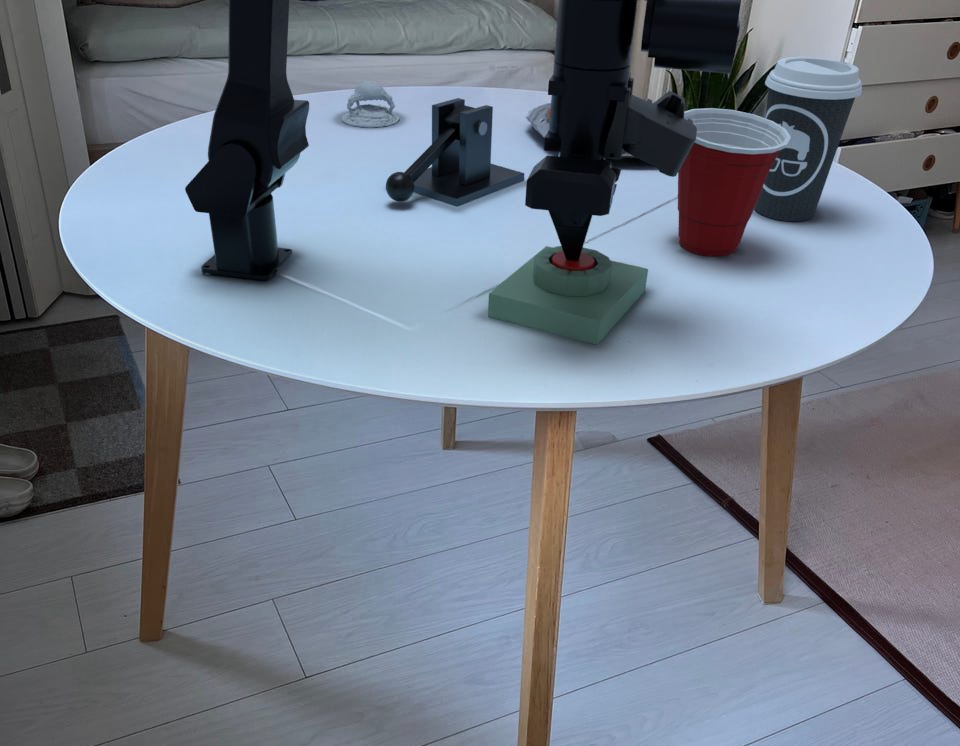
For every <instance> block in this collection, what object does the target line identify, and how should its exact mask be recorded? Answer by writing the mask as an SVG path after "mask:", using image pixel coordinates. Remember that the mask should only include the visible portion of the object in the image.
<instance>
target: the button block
mask: <svg viewBox="0 0 960 746" xmlns="http://www.w3.org/2000/svg"><path fill="white" fill-rule="evenodd" d="M560 252H563V249H562V246H561V245H558V246H548V245H546V246H544V247H542V249H541V250H540V251H538V252H537V253H536V254H535V255H534V256H533V257H531V258H530V259H529V260H527V261H526V262H525V263H523V265H521V266H520V267H519V268H518V269H517V270H515V271H514V272H513V273H512V274H510V275H509V276H508V277H507V278H506V279H505V280H503V281H502V282H501V283H499V284H498V285H497V286H496V287H494V289H492V290H491V291H490V292H488V305H487V306H488V308H487V317H488V318H492V319H496V320H500V321H504V322H507V323H511V324H514V325H518V326H522V327H527V328H530V329H535V330H539V331H542V332H545V333H550V334H554V335H558V336H561V337H565V338H570V339H573V340H577V341H581V342H585V343H588V344H592V345H597V346H598V345H599V344H600V343H601V341H602V340H603V339H604V338H606V336H607V335H608V333H609V332H610V331H611V330H612V329H613V328H614V327H615V326H616V324H617V323H618V322H619V321H620V320H621V319H622V318H623V316H624V315H626V313H627V312H628V311H629V310H630V309H631V308H632V306H634V304H635V303H636V302H637V301H638V300H639V299H640V297H641V296H642V295H643V294H644V293H645V292H646V286H647V280H648V273H649V269H648V268H646V267H642V266H637V265H634V264H628V263H624V262H620V261H615V260H611V259H610V257H609V256H607V255H606V254H604V253H602V252H600V251H598V250H596V249H592V248H586V247H583V248H582V252H581V253H585V254H588V255H590V256H591V257H592V258H593V259H594V268H593V269H589V270H585V271H568V270H564V269H560V268H557V267H555V266H554V265H552V258H553V256H554V255H555V254H557V253H560Z"/></svg>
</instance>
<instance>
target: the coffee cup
mask: <svg viewBox="0 0 960 746" xmlns="http://www.w3.org/2000/svg"><path fill="white" fill-rule="evenodd" d="M859 69H860V68H859V67H857V66H856V65H854V64H852V63H849V62H846V61H842V60H839V59H832V58H826V57H816V56H790V57H789V56H788V57H783V58H780V59H778V60H777V62H776V65H775V66H774V69H772V70H771V71H770V72H769V74H768V75H767V76H766V78H765V81H764V85H765V86H766V87H767V88H768V90H767V100H766V108H765V117H764V118H765V119H768V120H771V121H773V122H775V123H777V124H778V125H780V126H781V127H783V128H785V129H786V130H787V132H788V133H789V135H790V137H791V138H790V140H789V142H788V144H787V145H786V147H785V148H784V149H782V150H781V151H780V153H779V154H778V156H777V158H776V160H775V161H774V163H773V165H772V167H771V169H770V171H769V173H768V175H767V178H766V180H765V183H764V185H763V188H762V190H761V193H760V195H759V198H758V200H757V203H756V205H755V208H754V211H755V212H756V213H758V214H759V215H761V216H763V217H766V218H769V219H772V220H776V221H782V222H783V221H784V222H804V221H809V220H811V219H812V218H814V217H815V214H816V211H817V208H818V205H819V202H820V200H821V197H822V195H823V194H822V193H823V191H824V188H825V185H826V182H827V179H828V177H829V173H830V171H831V168H832V165H833V162H834V160H835V156H836V153H837V150H838V149H839V148H838V147H839V144H840V142H841V139H842V137H843V134H844V130H845V127H846V125H847V122H848V119H849V116H850V113H851V111H852V108H853V106H854V103H855V100H856V98H857V97H859V96H861V95H862V93H863V85H862V80H861V79H860V78H859V76H860V70H859Z"/></svg>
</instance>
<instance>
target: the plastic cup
mask: <svg viewBox="0 0 960 746" xmlns="http://www.w3.org/2000/svg"><path fill="white" fill-rule="evenodd" d="M684 119H686V120H688V119H691V120H693V124H694V125H695V126H696V127H697V135H696V140H695V142H694V144H693V146H692V148H691V149H690V151H689V153H688V155H687V157H686V159H685V160H684V162H683V164H682V166H681V168H680V170H679V171H678V173H677V211H678V231H677V232H678V239H679V245H680V247H681V248H683V249H684V250H685V251H686V252H689V253H692V254H694V255H698V256H704V257H715V258H717V257H718V258H719V257H727V256H730V255H732V254H735V252H736V251H737V248H738V247H739V245H740V243H741V241H742V238H743V236H744V233H745V230H746V228H747V225H748V222H749V221H750V219H751V217H752V215H753V213H754V211H755V209H754V208H755V205H756V203H757V200H758V198H759V195H760V193H761V190H762V188H763V185H764V183H765V180H766V178H767V175H768V173H769V171H770V169H771V167H772V165H773V163H774V161H775V160H776V158H777V156H778V154H779V153H780V151H781V150H782V149H784V148H785V147H786V145H787V144H788V142H789V140H790V138H791V137H790V135H789V133H788V132H787V130H786V129H785V128H783V127H781V126H780V125H778V124H777V123H775V122H773V121H771V120H768V119H765V117H763V116H759V115H757V114H754V113H749V112H744V111H739V110H734V109H728V108H727V109H726V108H714V107H710V108H709V107H708V108H707V107H706V108H692V109H689V110H684Z"/></svg>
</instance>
